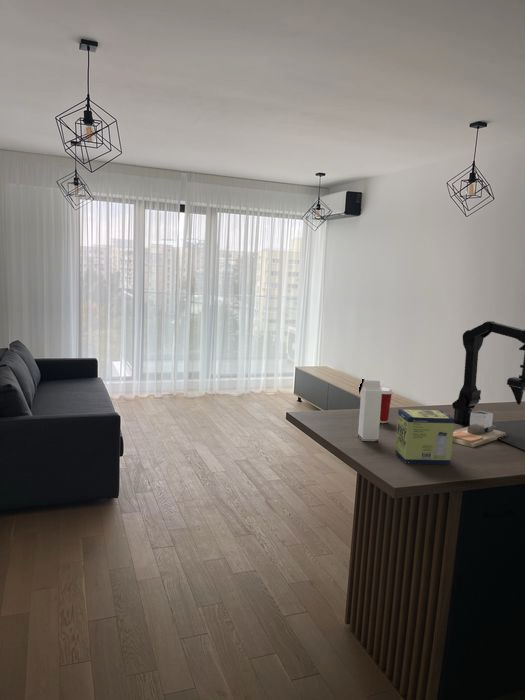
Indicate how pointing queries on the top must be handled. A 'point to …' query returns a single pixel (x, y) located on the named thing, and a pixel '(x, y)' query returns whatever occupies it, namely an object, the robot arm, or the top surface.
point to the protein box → (424, 436)
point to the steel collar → (481, 419)
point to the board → (475, 437)
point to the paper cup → (385, 403)
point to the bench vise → (479, 429)
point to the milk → (370, 410)
